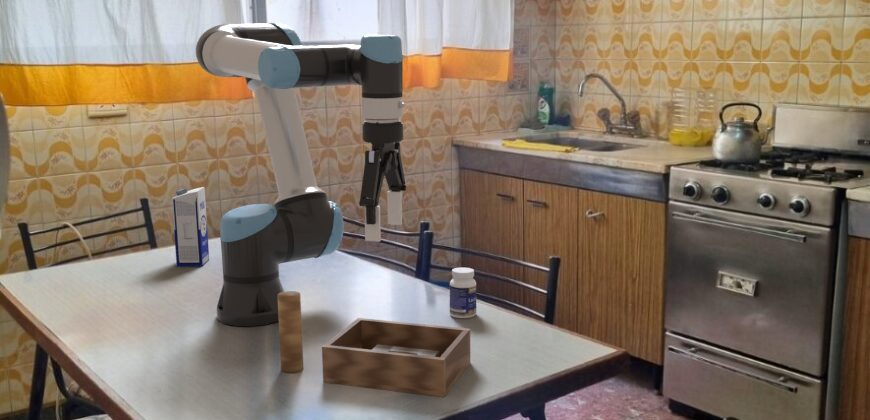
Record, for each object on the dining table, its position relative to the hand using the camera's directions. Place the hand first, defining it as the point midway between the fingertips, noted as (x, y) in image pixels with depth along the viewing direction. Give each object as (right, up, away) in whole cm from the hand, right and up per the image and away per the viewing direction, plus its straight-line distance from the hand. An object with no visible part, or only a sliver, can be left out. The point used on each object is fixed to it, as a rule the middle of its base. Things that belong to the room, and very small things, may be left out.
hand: (384, 232), depth 168 cm
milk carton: (-54, -10, +65) cm, 85 cm away
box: (+3, -25, -10) cm, 27 cm away
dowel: (-16, -24, -8) cm, 30 cm away
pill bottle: (+16, -18, +21) cm, 32 cm away
